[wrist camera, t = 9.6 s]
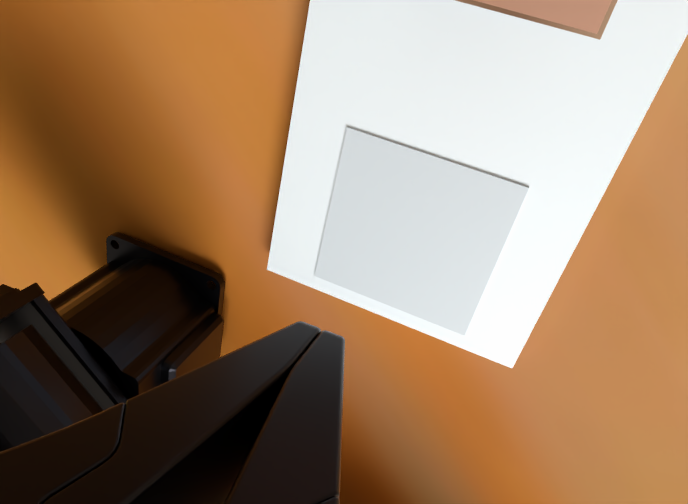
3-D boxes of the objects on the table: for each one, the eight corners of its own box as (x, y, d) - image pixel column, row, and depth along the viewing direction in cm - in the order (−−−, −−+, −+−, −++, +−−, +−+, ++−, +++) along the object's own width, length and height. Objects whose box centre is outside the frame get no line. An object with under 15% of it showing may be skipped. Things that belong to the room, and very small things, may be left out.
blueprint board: (275, 261, 24) (265, 270, 23) (384, -385, 13) (373, -406, 13) (513, 356, 22) (511, 370, 21) (865, -324, 11) (887, -345, 11)
